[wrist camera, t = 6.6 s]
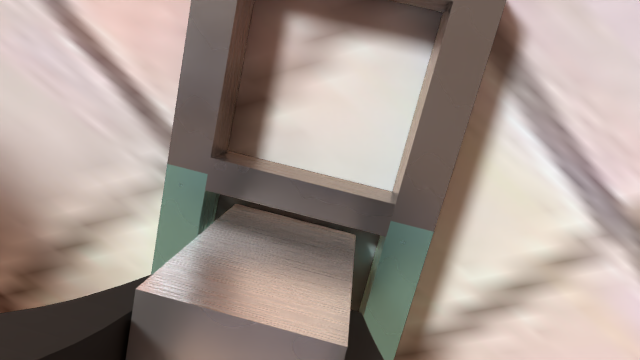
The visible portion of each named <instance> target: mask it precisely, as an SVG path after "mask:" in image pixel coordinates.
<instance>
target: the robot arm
mask: <svg viewBox="0 0 640 360" xmlns="http://www.w3.org/2000/svg"><path fill="white" fill-rule="evenodd" d="M152 275H153V274H152ZM150 276H151V275H149V276H146V277H143V278H140V279H138V280H135V281H132V282H129V283H126V284H124V285H121V286H117V287H114V288H111V289H108V290H104V291H101V292H98V293H95V294H92V295H88V296H85V297H81V298H77V299H73V300H69V301H65V302H61V303H56V304H52V305H47V306H42V307H37V308H32V309H25V310H19V311H13V312H6V313H0V360H126V353H127V346H128V339H129V332H130V325H131V318H132V311H133V304H134V297H135V290H136V288H137V287H138V286H140V285H141V284H142V283H143V282H144V281H145V280H147V279H148V278H149V277H150ZM344 360H384V359H383V357H382V355H381V353H380V351H379V349H378V347H377V345H376V343H375V341H374V339H373V337H372V335H371V333H370V331H369V328H368V326H367V324H366V321H365V319H364V317H363V315H362V313H361V312H357V311H353V310H350V320H349V333H348V347H347V350H346V354H345V358H344Z"/></svg>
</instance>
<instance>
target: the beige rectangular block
mask: <svg viewBox="0 0 640 360" xmlns="http://www.w3.org/2000/svg"><path fill="white" fill-rule="evenodd" d="M355 239H356V235H355V234H351V233H347V232H344V231H340V230H336V229H332V228H328V227H324V226H320V225H316V224H313V223H309V222H305V221H301V220H297V219H293V218H289V217H285V216H282V215H278V214H274V213H270V212H266V211H262V210H258V209H255V208H251V207H247V206H243V205H239V204H235V205H234V206H233V207H231V208H230V209H229V210H228V211H227V212H225V213H224V214H223V215H222V216H221V217H220V218H218V219H217V220H216V221H215V222H214V223H213V224H211V225H210V226H209V227H208V228H207V229H205V230H204V231H203V232H202V233H201V234H200V235H198V236H197V237H196V238H195V239H194V240H193V241H191V242H190V243H189V244H188V245H187V246H185V247H184V248H183V249H182V250H181V251H180V252H178V253H177V254H176V255H175V256H174V257H173V258H171V259H170V260H169V261H168V262H167V263H165V264H164V265H163V266H162V267H161V268H160V269H158V270H157V271H156V272H155V273H154V274H153V275H151V276H150V277H149V278H148V279H147V280H145V281H144V282H143V283H142V284H141V285H140V286H138V287H137V288H136V290H135V297H134V304H133V311H132V318H131V325H130V332H129V339H128V346H127V353H126V360H344V358H345V354H346V350H347V347H348V333H349V320H350V306H351V293H352V279H353V266H354V252H355Z"/></svg>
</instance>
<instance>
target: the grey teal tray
mask: <svg viewBox="0 0 640 360" xmlns="http://www.w3.org/2000/svg"><path fill="white" fill-rule="evenodd" d="M390 1H395V2H399V3H404V4H408V5H412V6H417V7H421V8H426V9H430V10H435V11H439V12H443V14H442V17H441V21H440V24H439V28H438V32H437V35H436V39H435V42H434V46H433V49H432V53H431V56H430V60H429V64H428V67H427V71H426V74H425V78H424V81H423V85H422V88H421V92H420V95H419V99H418V103H417V106H416V110H415V113H414V117H413V120H412V124H411V127H410V131H409V135H408V138H407V142H406V145H405V149H404V152H403V156H402V159H401V163H400V166H399V170H398V174H397V177H396V181H395V184H394V188H393V191H392V192H391V191H387V190H383V189H379V188H375V187H371V186H367V185H363V184H359V183H355V182H351V181H347V180H343V179H339V178H335V177H331V176H327V175H323V174H319V173H315V172H311V171H307V170H303V169H299V168H295V167H291V166H287V165H283V164H279V163H275V162H271V161H267V160H263V159H259V158H255V157H251V156H247V155H243V154H239V153H235V152H231V151H227V150H228V144H229V139H230V133H231V127H232V122H233V116H234V111H235V105H236V100H237V94H238V89H239V83H240V77H241V72H242V66H243V61H244V55H245V50H246V44H247V39H248V33H249V27H250V22H251V16H252V11H253V5H254V0H191V6H190V13H189V19H188V26H187V33H186V40H185V47H184V54H183V60H182V67H181V74H180V81H179V88H178V95H177V101H176V108H175V115H174V122H173V129H172V136H171V142H170V149H169V156H168V163H167V170H166V177H165V183H164V190H163V197H162V204H161V211H160V218H159V225H158V231H157V238H156V245H155V252H154V259H153V266H152V272H151V275H152V274H154V273H155V272H156V271H157V270H158V269H160V268H161V267H162V266H163V265H164V264H165V263H167V262H168V261H169V260H170V259H171V258H173V257H174V256H175V255H176V254H177V253H178V252H180V251H181V250H182V249H183V248H184V247H185V246H187V245H188V244H189V243H190V242H191V241H193V240H194V239H195V238H196V237H197V236H198V235H200V234H201V233H202V232H203V231H204V230H205V229H207V228H208V227H209V226H210V225H211V224H213V223H214V222H215V216H216V211H217V205H218V200H219V194H222V195H226V196H230V197H233V198H237V199H241V200H245V201H249V202H253V203H257V204H261V205H265V206H268V207H272V208H276V209H280V210H284V211H288V212H292V213H296V214H299V215H303V216H307V217H311V218H315V219H319V220H323V221H327V222H331V223H334V224H338V225H342V226H346V227H350V228H354V229H358V230H362V231H366V232H369V233H373V234H377V235H380V237H379V241H378V245H377V248H376V252H375V255H374V259H373V262H372V266H371V269H370V273H369V276H368V280H367V284H366V287H365V291H364V294H363V298H362V301H361V305H360V308H359V312H361V313H362V315H363V317H364V319H365V321H366V324H367V326H368V328H369V331H370V333H371V335H372V337H373V339H374V341H375V343H376V345H377V347H378V349H379V351H380V353H381V355H382V357H383V359H384V360H394V357H395V354H396V351H397V347H398V344H399V341H400V338H401V335H402V332H403V328H404V325H405V322H406V319H407V316H408V312H409V309H410V306H411V303H412V300H413V296H414V293H415V290H416V287H417V284H418V281H419V277H420V274H421V271H422V268H423V265H424V261H425V258H426V255H427V252H428V249H429V245H430V242H431V239H432V236H433V233H434V229H435V226H436V223H437V220H438V217H439V214H440V210H441V207H442V204H443V201H444V198H445V194H446V191H447V188H448V185H449V182H450V178H451V175H452V172H453V169H454V166H455V163H456V159H457V156H458V153H459V150H460V147H461V143H462V140H463V137H464V134H465V131H466V127H467V124H468V121H469V118H470V115H471V112H472V108H473V105H474V102H475V99H476V96H477V92H478V89H479V86H480V83H481V80H482V76H483V73H484V70H485V67H486V64H487V61H488V57H489V54H490V51H491V48H492V45H493V41H494V38H495V35H496V32H497V29H498V25H499V22H500V19H501V16H502V13H503V10H504V6H505V3H506V0H390Z"/></svg>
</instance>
